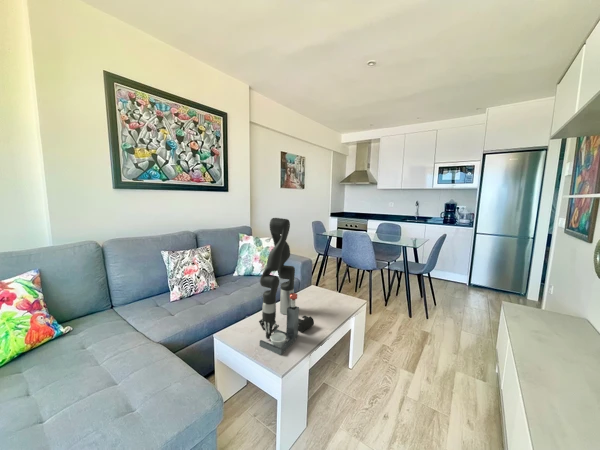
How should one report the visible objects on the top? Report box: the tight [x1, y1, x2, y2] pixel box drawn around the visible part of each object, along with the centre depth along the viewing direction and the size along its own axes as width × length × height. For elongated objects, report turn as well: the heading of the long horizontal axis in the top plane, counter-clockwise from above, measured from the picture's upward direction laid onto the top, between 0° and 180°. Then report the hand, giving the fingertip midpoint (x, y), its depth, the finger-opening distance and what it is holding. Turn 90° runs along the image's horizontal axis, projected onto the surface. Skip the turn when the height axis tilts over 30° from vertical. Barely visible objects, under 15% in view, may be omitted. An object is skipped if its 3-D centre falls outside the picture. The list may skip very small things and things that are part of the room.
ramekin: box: [269, 332, 287, 348], centre depth 135 cm, size 9×9×4 cm
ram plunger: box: [290, 292, 298, 310], centre depth 139 cm, size 4×4×11 cm
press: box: [259, 305, 300, 356], centre depth 136 cm, size 19×14×18 cm
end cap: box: [298, 315, 315, 333], centre depth 150 cm, size 10×7×7 cm
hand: (268, 338), depth 138 cm, fingers closed
